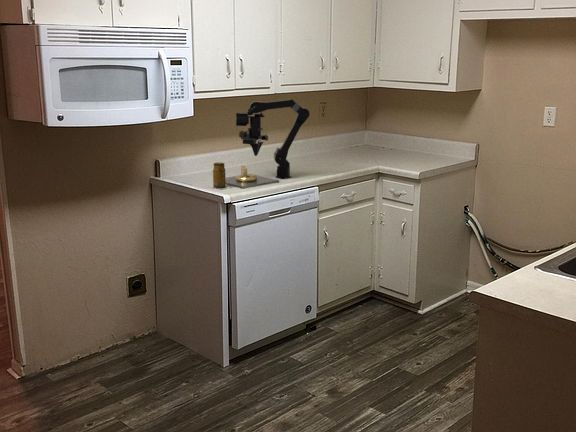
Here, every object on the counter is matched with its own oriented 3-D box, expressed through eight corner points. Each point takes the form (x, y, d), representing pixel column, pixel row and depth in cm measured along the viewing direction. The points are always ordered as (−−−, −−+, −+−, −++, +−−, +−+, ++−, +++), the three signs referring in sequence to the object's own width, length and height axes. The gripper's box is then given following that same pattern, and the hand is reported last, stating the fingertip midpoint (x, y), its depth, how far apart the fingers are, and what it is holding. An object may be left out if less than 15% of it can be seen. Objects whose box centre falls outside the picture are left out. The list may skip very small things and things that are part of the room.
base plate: (250, 175, 344) (250, 173, 343) (279, 182, 326) (279, 179, 326) (213, 181, 328) (213, 179, 328) (242, 188, 311) (242, 186, 311)
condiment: (220, 185, 320) (219, 161, 317) (231, 187, 314) (231, 163, 311) (209, 187, 314) (208, 163, 311) (220, 189, 309) (219, 165, 306)
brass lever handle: (243, 174, 339) (243, 165, 338) (263, 179, 327) (263, 169, 326) (225, 177, 331) (224, 168, 330) (244, 182, 319) (244, 172, 318)
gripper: (249, 123, 342) (250, 152, 345) (233, 127, 325) (233, 157, 329) (268, 124, 337) (268, 153, 341) (252, 128, 321) (252, 158, 325)
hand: (255, 155), depth 334 cm, fingers closed
